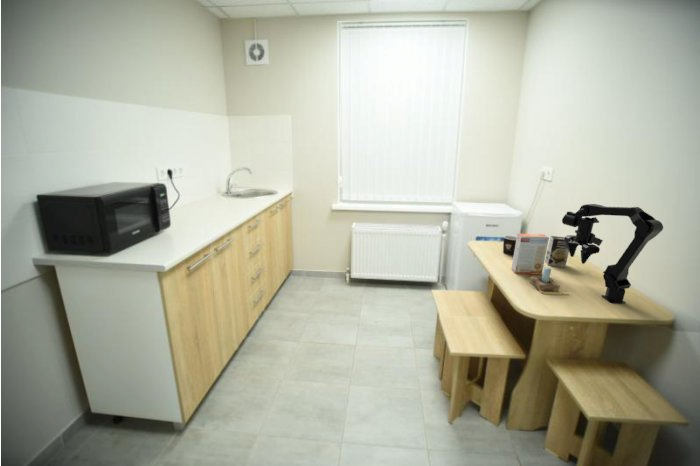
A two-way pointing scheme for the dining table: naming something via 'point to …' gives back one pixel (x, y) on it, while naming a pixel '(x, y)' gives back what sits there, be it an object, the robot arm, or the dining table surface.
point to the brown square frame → (544, 285)
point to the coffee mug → (509, 245)
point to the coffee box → (557, 252)
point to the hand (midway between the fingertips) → (577, 260)
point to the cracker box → (529, 253)
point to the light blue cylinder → (546, 275)
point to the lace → (553, 293)
